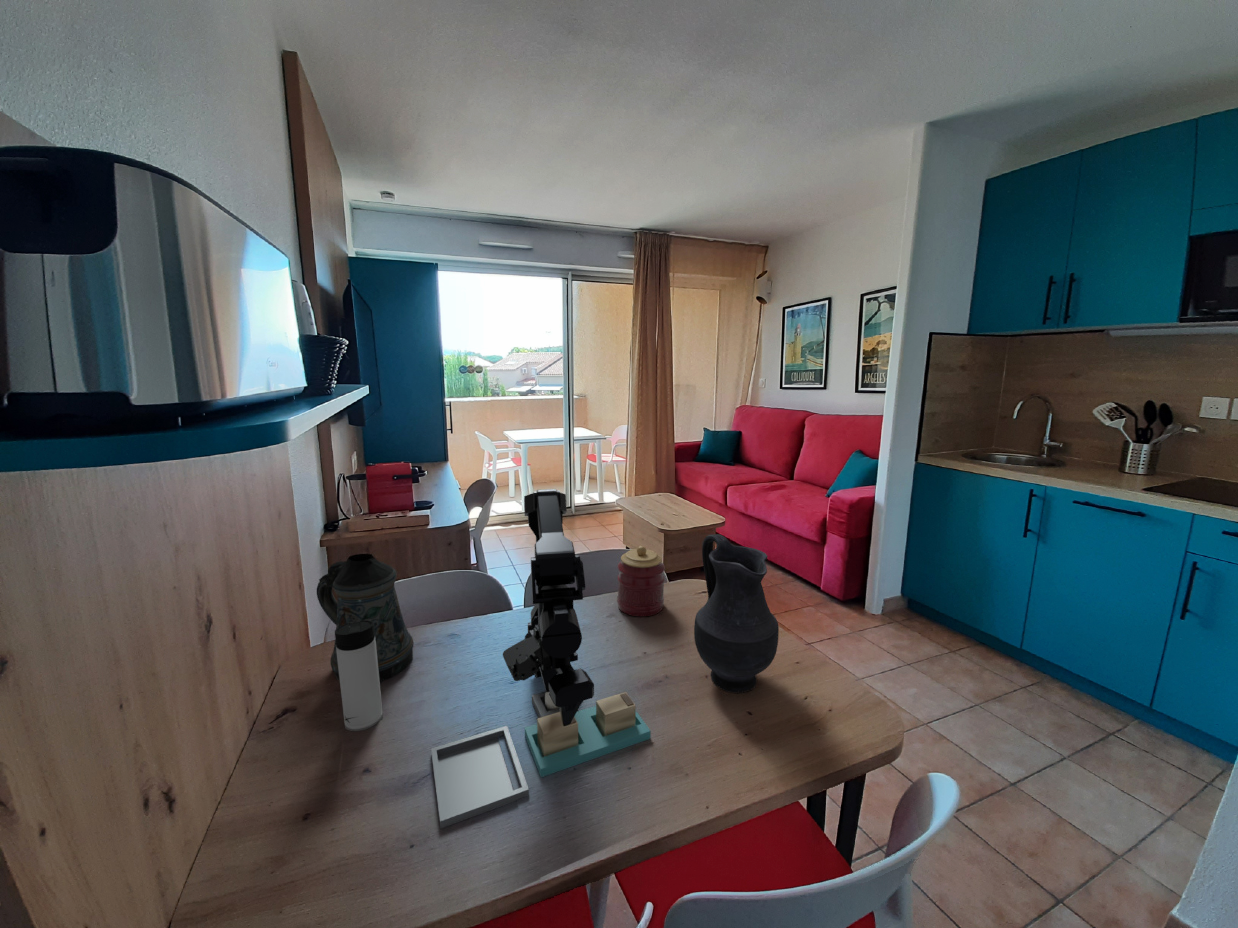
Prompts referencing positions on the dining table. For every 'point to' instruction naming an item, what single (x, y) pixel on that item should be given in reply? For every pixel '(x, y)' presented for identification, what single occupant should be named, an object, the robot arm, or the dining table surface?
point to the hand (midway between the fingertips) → (557, 707)
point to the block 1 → (556, 734)
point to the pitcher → (735, 616)
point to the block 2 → (615, 714)
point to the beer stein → (368, 609)
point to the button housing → (541, 705)
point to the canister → (640, 582)
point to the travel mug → (358, 675)
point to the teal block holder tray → (585, 743)
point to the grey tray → (474, 776)
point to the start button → (549, 702)
